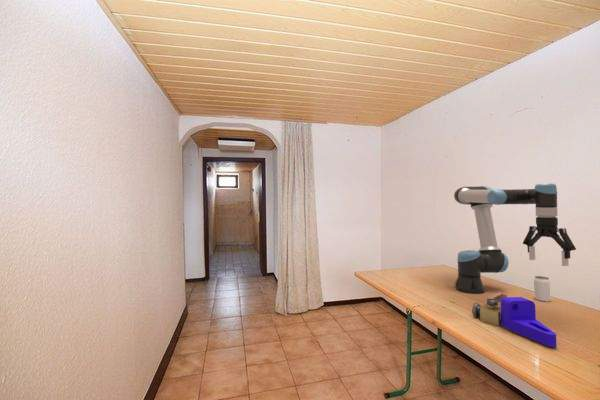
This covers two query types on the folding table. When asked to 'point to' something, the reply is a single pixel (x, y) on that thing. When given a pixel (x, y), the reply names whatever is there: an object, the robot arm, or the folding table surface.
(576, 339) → the folding table surface
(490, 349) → the folding table surface
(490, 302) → the lever
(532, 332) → the bracket
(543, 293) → the can
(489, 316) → the valve
